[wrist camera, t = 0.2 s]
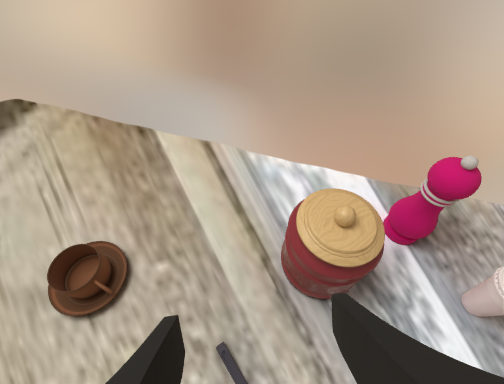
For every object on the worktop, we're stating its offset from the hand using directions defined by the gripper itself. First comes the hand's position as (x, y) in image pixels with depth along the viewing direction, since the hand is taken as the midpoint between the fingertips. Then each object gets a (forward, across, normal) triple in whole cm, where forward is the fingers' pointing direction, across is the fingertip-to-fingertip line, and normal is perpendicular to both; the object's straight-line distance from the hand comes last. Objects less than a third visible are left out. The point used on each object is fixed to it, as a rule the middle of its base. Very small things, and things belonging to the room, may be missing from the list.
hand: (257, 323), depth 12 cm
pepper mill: (+34, -29, +12) cm, 46 cm away
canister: (+31, -12, +15) cm, 36 cm away
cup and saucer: (+31, +26, +13) cm, 43 cm away
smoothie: (+24, -35, +22) cm, 48 cm away
